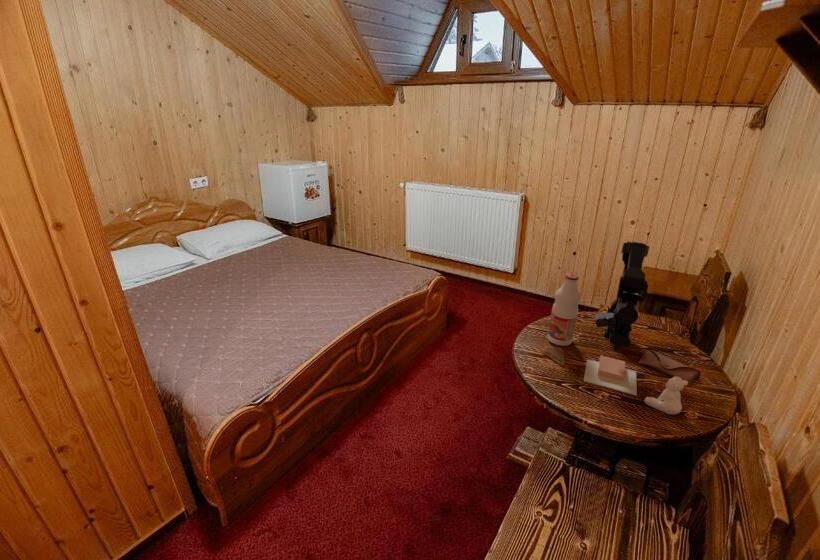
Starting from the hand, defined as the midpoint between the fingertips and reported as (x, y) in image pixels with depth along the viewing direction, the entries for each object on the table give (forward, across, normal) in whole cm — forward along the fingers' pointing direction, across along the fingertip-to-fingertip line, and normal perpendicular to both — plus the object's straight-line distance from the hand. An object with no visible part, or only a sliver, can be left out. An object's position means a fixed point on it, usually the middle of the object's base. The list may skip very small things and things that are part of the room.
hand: (615, 350), depth 140 cm
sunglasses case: (+8, -9, +18) cm, 22 cm away
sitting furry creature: (+8, +14, +16) cm, 23 cm away
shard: (+8, 0, -18) cm, 20 cm away
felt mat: (+8, +5, 0) cm, 9 cm away
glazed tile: (+6, -3, 0) cm, 7 cm away
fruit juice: (+8, -12, -19) cm, 24 cm away
